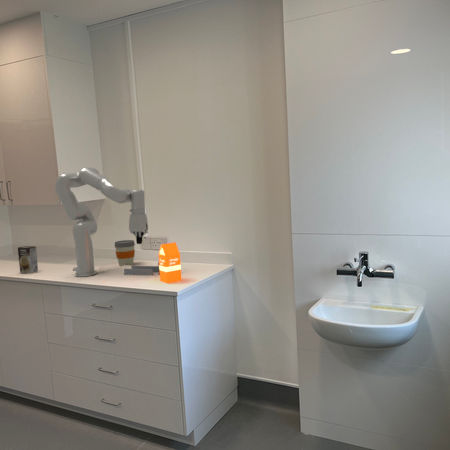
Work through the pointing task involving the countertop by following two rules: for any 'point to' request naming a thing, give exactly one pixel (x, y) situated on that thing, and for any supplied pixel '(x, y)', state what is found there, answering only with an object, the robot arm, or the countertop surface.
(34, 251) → the coffee box
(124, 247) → the reusable coffee cup
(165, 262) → the orange juice
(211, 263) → the countertop surface
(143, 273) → the chute
